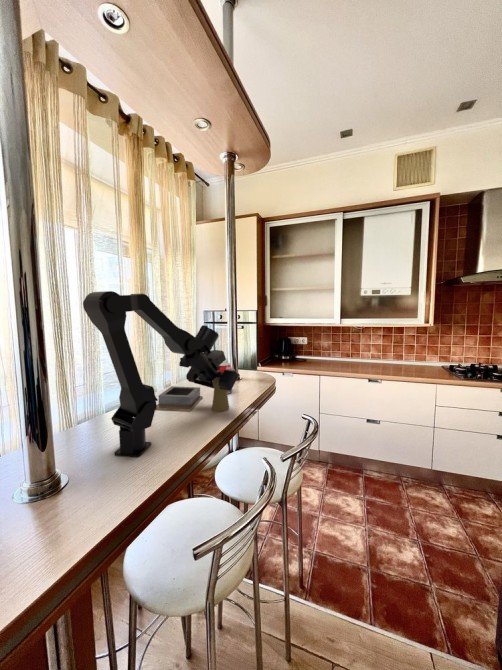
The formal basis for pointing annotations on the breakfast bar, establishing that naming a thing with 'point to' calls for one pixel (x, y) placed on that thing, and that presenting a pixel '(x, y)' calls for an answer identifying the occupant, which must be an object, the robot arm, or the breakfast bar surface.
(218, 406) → the olive pawn
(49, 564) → the breakfast bar surface
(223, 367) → the soda can
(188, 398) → the square holder
